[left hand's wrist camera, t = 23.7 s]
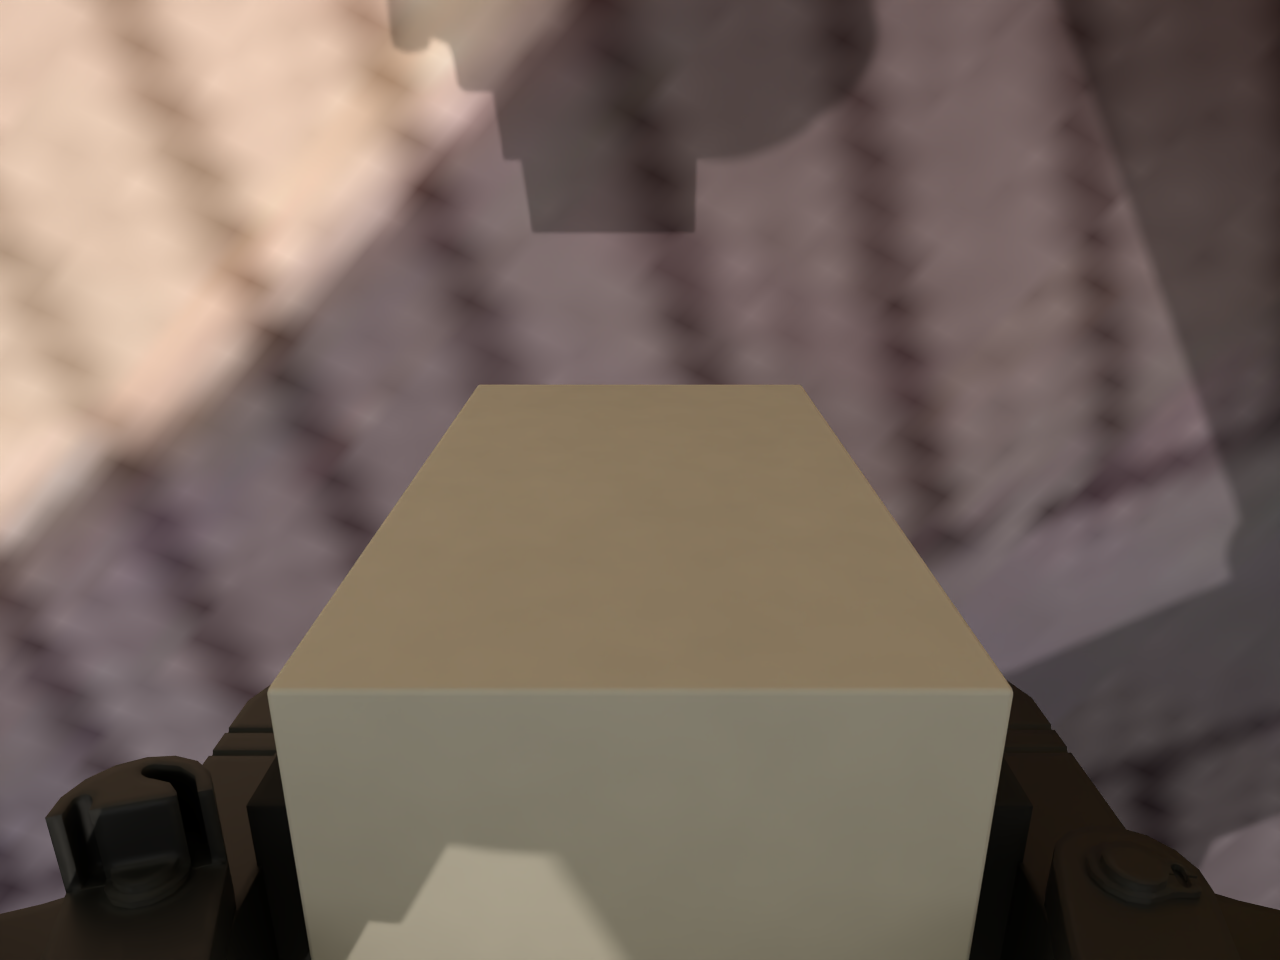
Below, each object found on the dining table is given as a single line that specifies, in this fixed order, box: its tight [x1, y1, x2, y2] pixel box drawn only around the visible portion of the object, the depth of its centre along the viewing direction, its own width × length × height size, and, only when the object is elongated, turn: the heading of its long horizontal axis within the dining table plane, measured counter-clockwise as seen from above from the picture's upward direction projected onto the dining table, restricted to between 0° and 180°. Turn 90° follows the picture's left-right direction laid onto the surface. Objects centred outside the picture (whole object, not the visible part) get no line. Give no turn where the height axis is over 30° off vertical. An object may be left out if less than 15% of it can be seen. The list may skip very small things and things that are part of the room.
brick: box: [267, 385, 1013, 960], centre depth 12 cm, size 6×6×9 cm
